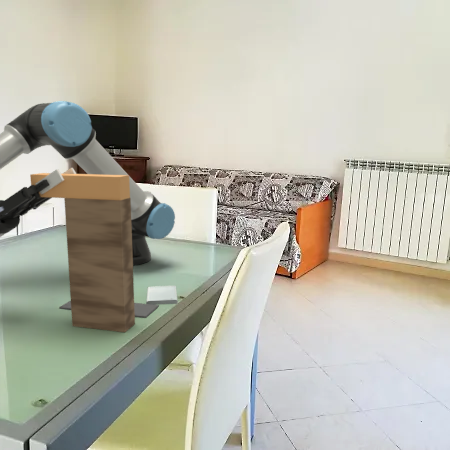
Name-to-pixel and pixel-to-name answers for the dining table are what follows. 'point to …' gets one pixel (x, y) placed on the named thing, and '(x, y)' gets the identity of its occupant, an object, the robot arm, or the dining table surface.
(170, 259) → the dining table surface
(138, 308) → the charcoal mat
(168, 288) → the hard drive
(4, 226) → the robot arm
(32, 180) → the orange rod
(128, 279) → the walnut pedestal
